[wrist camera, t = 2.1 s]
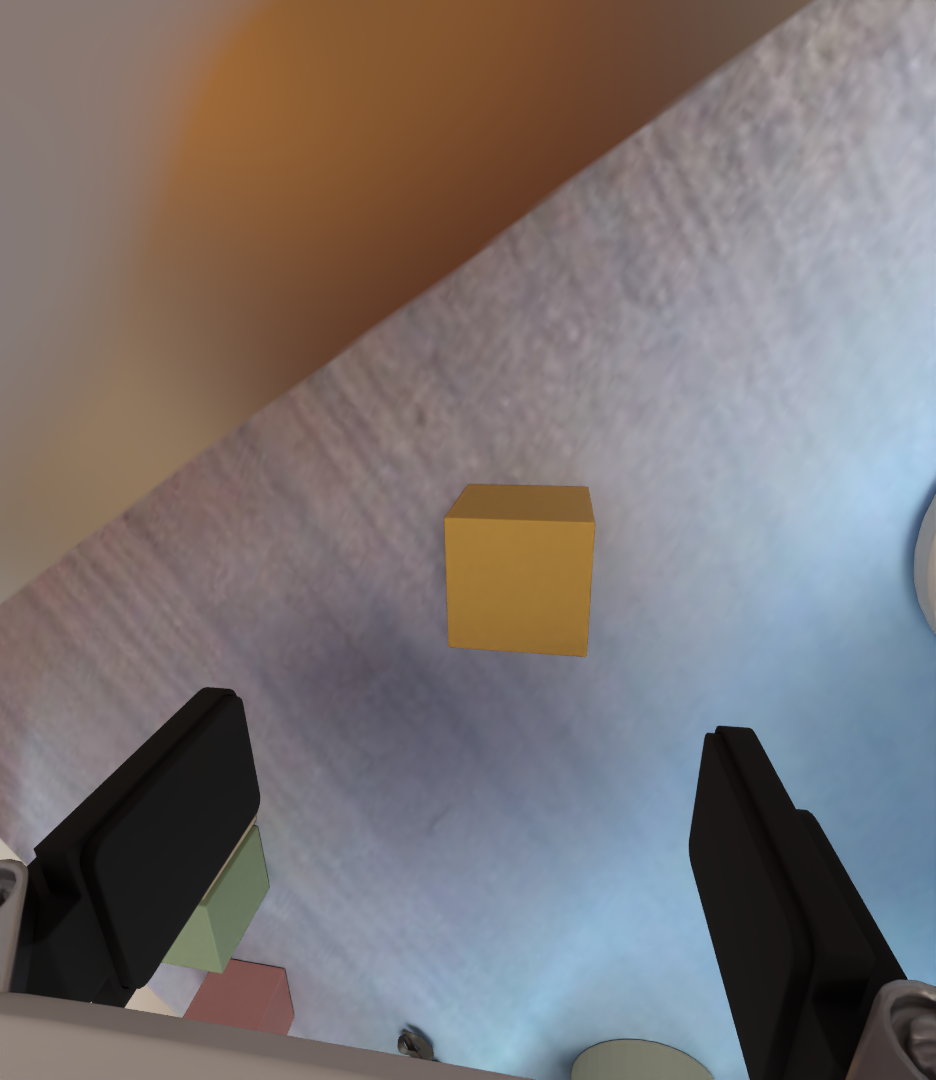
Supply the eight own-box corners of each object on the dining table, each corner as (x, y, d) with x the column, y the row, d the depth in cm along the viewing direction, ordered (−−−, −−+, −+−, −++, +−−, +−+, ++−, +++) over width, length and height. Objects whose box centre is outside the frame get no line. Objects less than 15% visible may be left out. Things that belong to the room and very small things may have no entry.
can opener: (483, 1107, 37) (481, 1129, 36) (455, 1110, 38) (451, 1133, 36) (415, 1020, 35) (410, 1041, 34) (387, 1025, 36) (381, 1046, 35)
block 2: (217, 956, 36) (166, 1044, 32) (285, 968, 36) (243, 1060, 31) (229, 1004, 38) (182, 1094, 33) (294, 1016, 37) (256, 1111, 33)
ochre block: (468, 483, 23) (443, 517, 18) (588, 486, 22) (595, 522, 17) (469, 591, 24) (448, 647, 20) (582, 597, 23) (586, 657, 19)
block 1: (182, 815, 32) (118, 893, 28) (258, 825, 32) (205, 907, 27) (197, 876, 34) (139, 959, 29) (269, 887, 33) (222, 974, 29)
